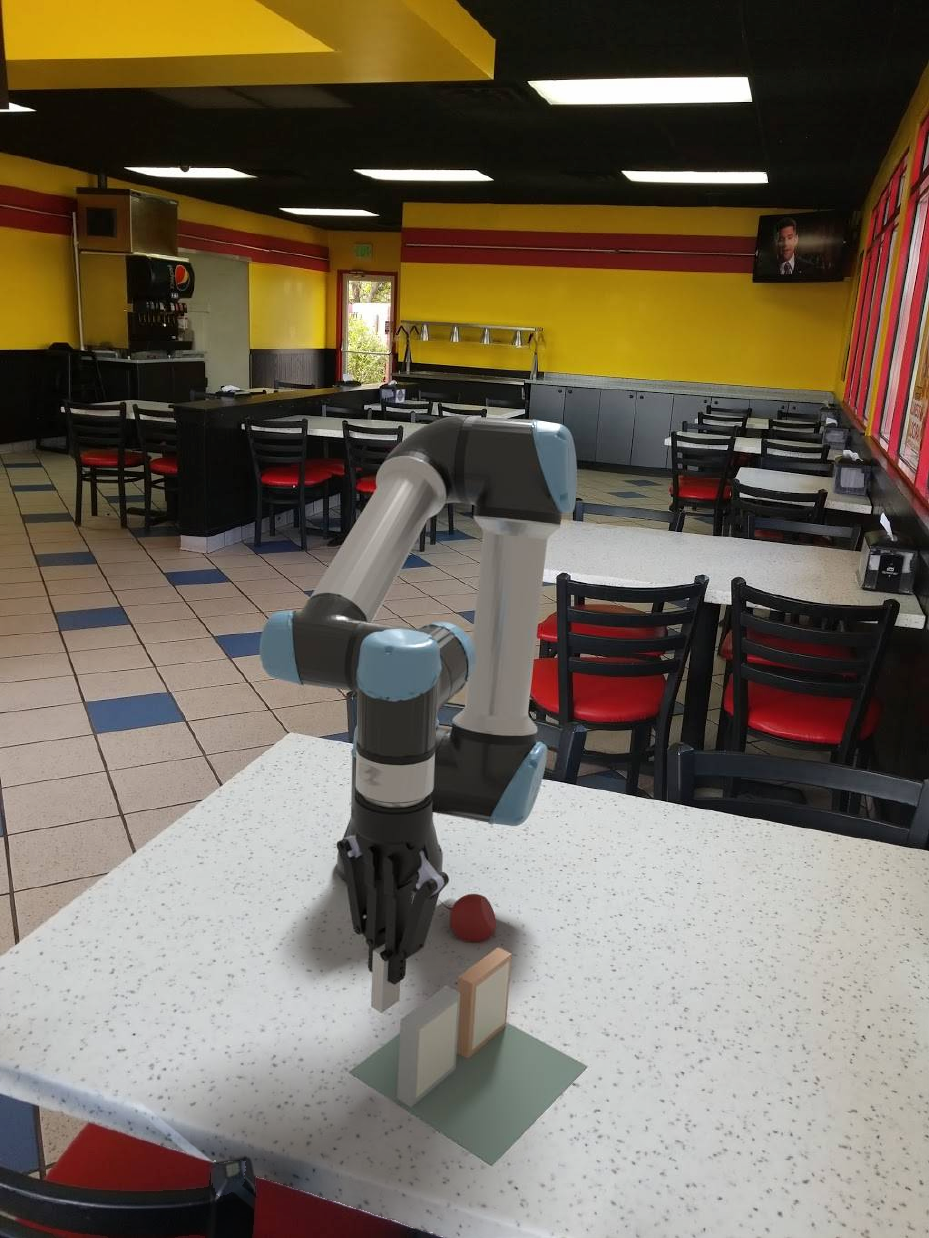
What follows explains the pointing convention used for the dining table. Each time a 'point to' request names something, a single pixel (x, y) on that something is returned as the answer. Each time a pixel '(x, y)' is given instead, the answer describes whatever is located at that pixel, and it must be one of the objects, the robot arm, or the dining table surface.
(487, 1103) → the mat
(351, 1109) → the dining table surface
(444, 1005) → the white flat block
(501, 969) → the terracotta tile
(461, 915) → the fruit
